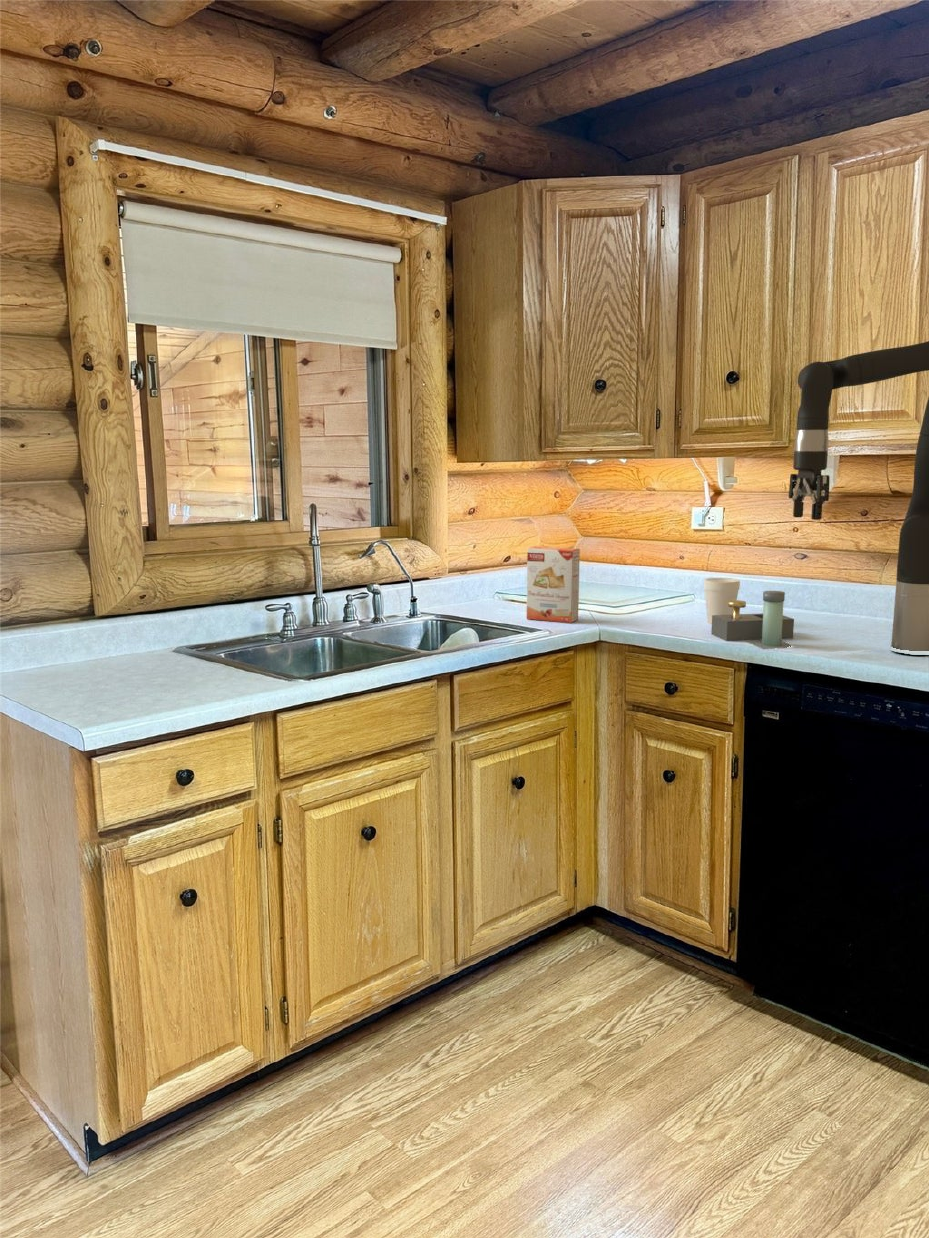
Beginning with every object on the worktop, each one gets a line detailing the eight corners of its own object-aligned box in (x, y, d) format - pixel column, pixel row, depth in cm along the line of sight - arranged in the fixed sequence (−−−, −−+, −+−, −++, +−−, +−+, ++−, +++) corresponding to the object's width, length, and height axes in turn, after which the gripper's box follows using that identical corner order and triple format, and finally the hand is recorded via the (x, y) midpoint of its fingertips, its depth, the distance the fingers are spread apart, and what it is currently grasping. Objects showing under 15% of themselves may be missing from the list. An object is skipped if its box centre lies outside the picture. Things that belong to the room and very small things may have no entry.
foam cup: (713, 630, 259) (715, 582, 257) (696, 624, 268) (697, 578, 266) (744, 628, 262) (746, 581, 259) (726, 622, 270) (728, 577, 268)
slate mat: (779, 644, 241) (779, 640, 241) (797, 651, 232) (797, 647, 232) (745, 645, 240) (745, 641, 240) (762, 652, 231) (762, 648, 231)
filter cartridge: (776, 642, 239) (778, 590, 236) (785, 645, 234) (788, 593, 232) (757, 642, 238) (759, 591, 236) (766, 646, 233) (769, 594, 231)
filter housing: (775, 635, 252) (776, 612, 251) (792, 642, 243) (794, 618, 242) (711, 637, 249) (712, 615, 248) (726, 644, 240) (727, 621, 239)
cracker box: (525, 619, 276) (526, 547, 272) (534, 616, 281) (534, 545, 277) (571, 623, 269) (572, 549, 265) (578, 620, 274) (580, 547, 271)
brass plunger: (739, 635, 248) (741, 600, 246) (747, 638, 244) (749, 602, 242) (723, 635, 247) (725, 600, 245) (730, 639, 243) (732, 603, 241)
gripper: (842, 449, 220) (837, 520, 223) (810, 449, 234) (806, 516, 236) (812, 449, 219) (807, 521, 221) (781, 449, 232) (777, 516, 235)
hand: (806, 518), depth 229 cm, fingers open, 8 cm apart
